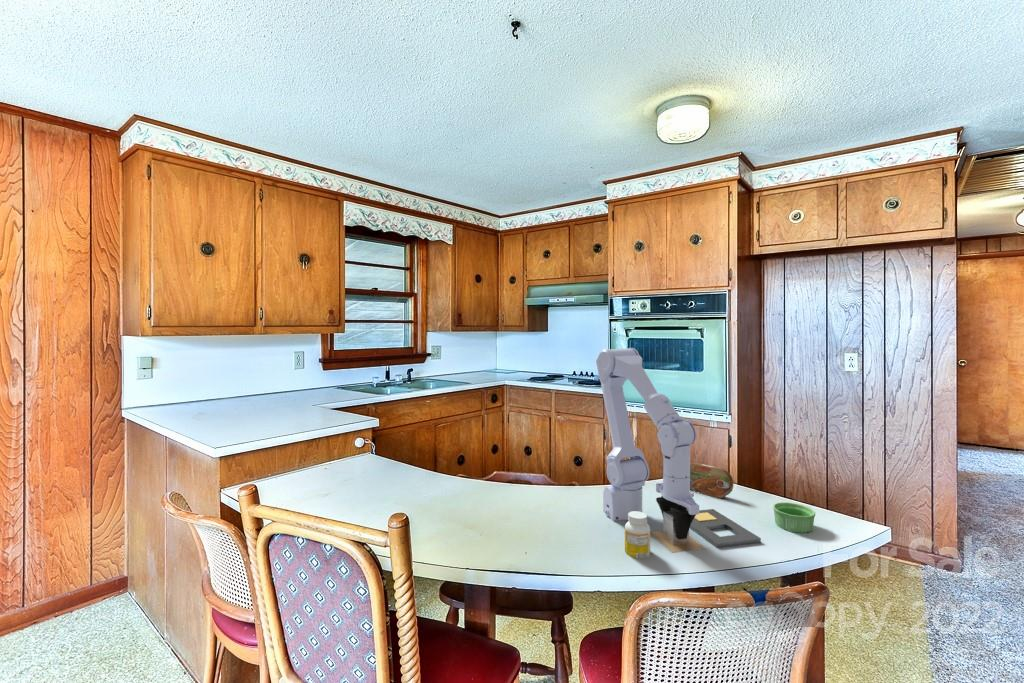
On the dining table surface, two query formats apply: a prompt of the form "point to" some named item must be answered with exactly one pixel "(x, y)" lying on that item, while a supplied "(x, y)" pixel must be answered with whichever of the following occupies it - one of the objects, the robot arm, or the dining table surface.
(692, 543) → the pad
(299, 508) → the dining table surface
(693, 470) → the tin
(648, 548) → the supplement bottle
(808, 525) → the ramekin
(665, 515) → the steel peg
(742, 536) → the rack plate
